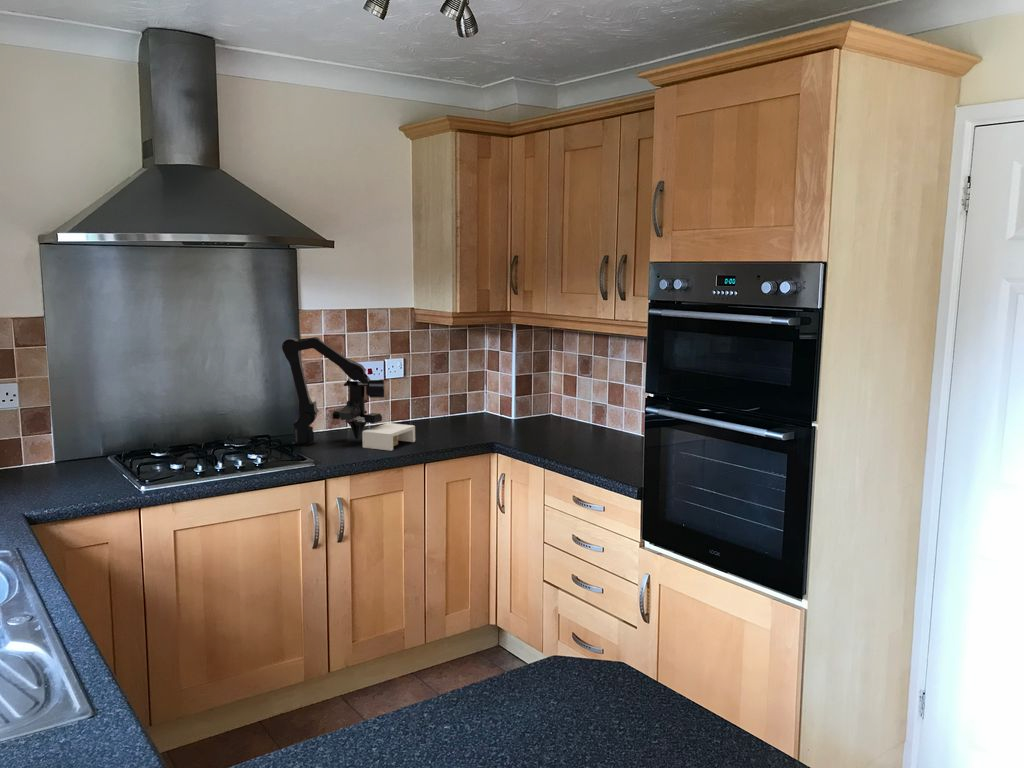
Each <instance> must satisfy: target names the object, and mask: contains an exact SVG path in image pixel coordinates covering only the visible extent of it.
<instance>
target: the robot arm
mask: <svg viewBox="0 0 1024 768" xmlns="http://www.w3.org/2000/svg"><path fill="white" fill-rule="evenodd" d="M281 349H282V352H283V354H284V357H285V358H286V361H287V362H288V363H289V366H290V370H291V374H292V379H293V382H294V386H295V391H296V395H297V398H298V418H297V419H296V420H295V422H294V423H293V424H292V425H293V438H294V439H293V442H291V445H298V446H299V445H300V446H303V447H304V446H305V447H306V446H309V445H311V444H315V443H316V440H315V435H314V434H315V433H314V432H315V431H314V428H313V426H312V424H313V423H314V422H315V421H316V419H317V417H318V413H319V409H318V405H317V401H312V399H311V396H310V393H309V388H308V386H307V380H306V377H305V373H304V368H303V365H302V363H303V362H302V351H305V350H310V349H314V350H315V351H316V352H318V353H320V354H321V355H322V356H324V357H325V358H327V359H328V360H329V361H330V362H332V363H333V364H335V365H337V366H338V367H339V368H340V369H341V371H342V372H343V373H344V374H346V376H348V379H347V380H346V381H345V382H344V383H343V386H344V387H348V400H346V405H345V406H344V407H343V408H340V409H337V410H334V411H332V414H331V415H332V416H331V417H332V419H333V420H341V421H344V422H345V423H346V424H348V425H349V426H350V428H351V430H352V433H353V435H354V439H355V440H359V439H360V438H361V435H362V431H364V429H365V427H366V425H367V424H377V423H379V422H382V421H383V415H382V414H381V413H379V412H377V413H376V412H371V413H368V410H365V409H366V407H365V406H366V403H367V402H368V400H367V399H366V396H367V397H369V398H370V399H373V398H374V399H375V398H376V399H378V398H379V399H380V398H381V399H384V398H385V397H386V395H385V394H386V388H385V380H384V379H382V378H381V379H371V378H370V376H368V374H367V373H366V370H365V367H364V365H362V364H361V363H359V362H357V361H355V360H352V359H350V358H348V357H345V356H344V355H343V354H341V353H340V352H338V351H337V350H336V349H334V348H332V347H331V346H329V345H328V344H327V343H326V342H324V341H323V340H321V339H320V337H318V336H312V337H309V338H308V337H307V338H299V339H298V338H296V337H289V338H287V339H285V340H284V341H283V342H282V344H281ZM350 379H351V380H350ZM365 392H366V393H365ZM365 394H366V395H365Z"/></svg>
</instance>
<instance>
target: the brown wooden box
mask: <svg viewBox="0 0 1024 768" xmlns="http://www.w3.org/2000/svg"><path fill="white" fill-rule="evenodd" d="M397 445H399V441H398V435H396V436H393V447H395V446H397Z"/></svg>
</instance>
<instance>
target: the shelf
mask: <svg viewBox="0 0 1024 768" xmlns="http://www.w3.org/2000/svg"><path fill="white" fill-rule="evenodd" d="M361 435H362V448H363V449H373V450H382V451H383V450H384V451H390V452H391V451H394V446H393V436H396V435H398V442H407V443H408V442H409V443H415V442H416V426H415V425H413V424H402V423H390V422H387V423H383V424H381V425H377V426H374V427H371V428H368V429H365V430H363V431H362V433H361Z"/></svg>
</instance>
